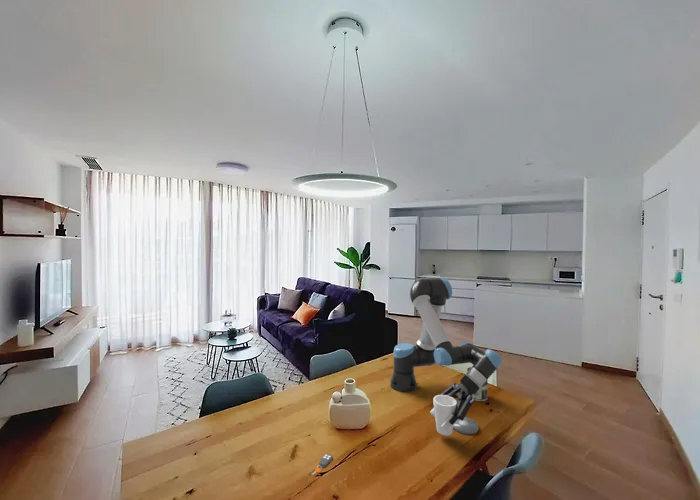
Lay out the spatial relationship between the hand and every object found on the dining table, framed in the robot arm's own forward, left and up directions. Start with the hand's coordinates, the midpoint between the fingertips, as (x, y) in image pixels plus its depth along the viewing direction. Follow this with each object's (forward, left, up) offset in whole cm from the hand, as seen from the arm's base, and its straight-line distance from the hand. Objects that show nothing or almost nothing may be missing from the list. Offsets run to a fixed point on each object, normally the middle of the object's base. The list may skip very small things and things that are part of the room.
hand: (437, 421), depth 128 cm
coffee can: (+26, +41, -8) cm, 49 cm away
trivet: (+13, +11, -7) cm, 19 cm away
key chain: (-44, -24, -8) cm, 51 cm away
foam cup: (+3, +1, -5) cm, 6 cm away
